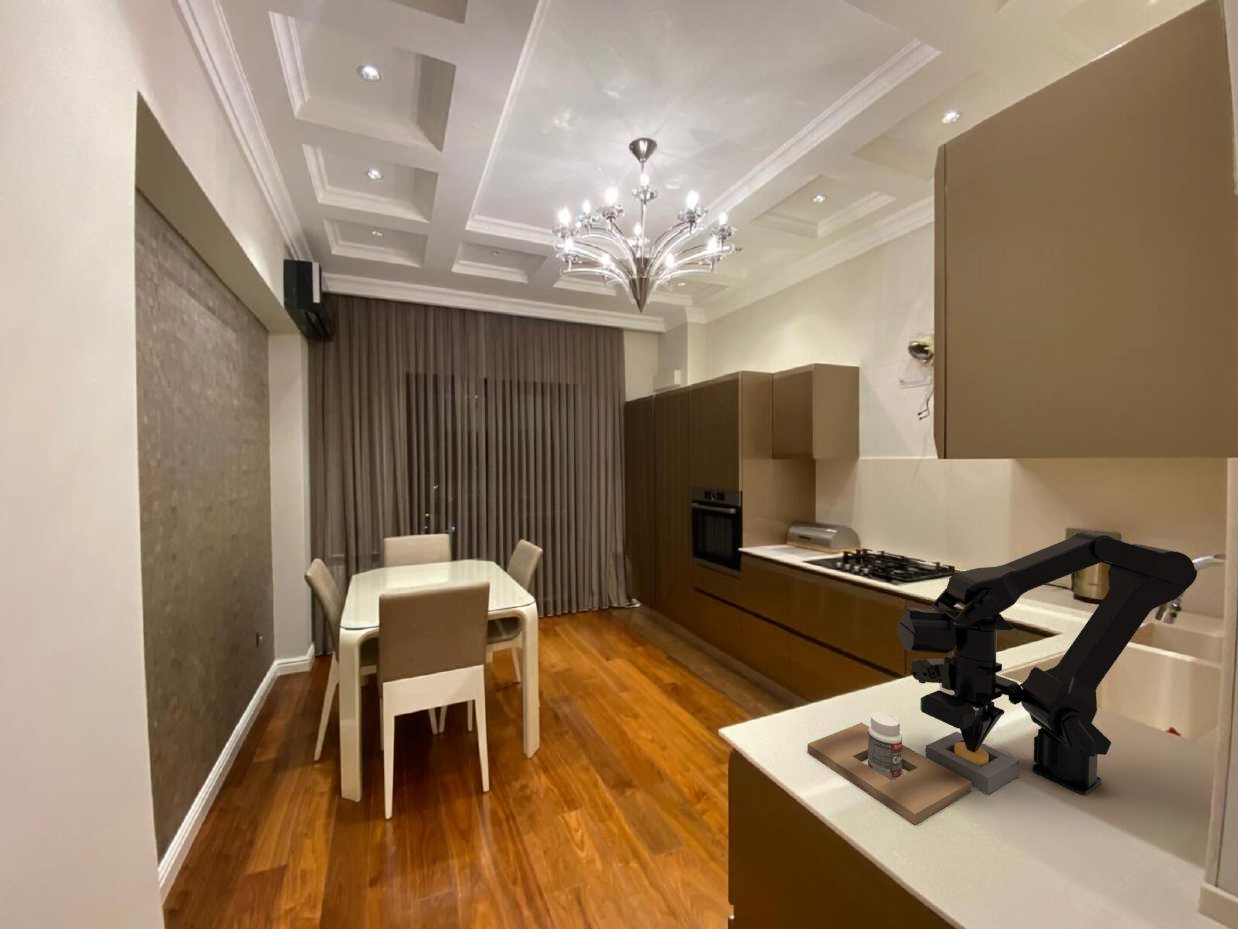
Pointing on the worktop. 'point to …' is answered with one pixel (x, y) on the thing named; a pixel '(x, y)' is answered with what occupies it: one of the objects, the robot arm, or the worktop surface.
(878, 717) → the pill bottle
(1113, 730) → the worktop surface
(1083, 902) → the worktop surface
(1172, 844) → the worktop surface
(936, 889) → the worktop surface
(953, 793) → the brown wooden rectangular frame
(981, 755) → the button
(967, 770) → the button collar
